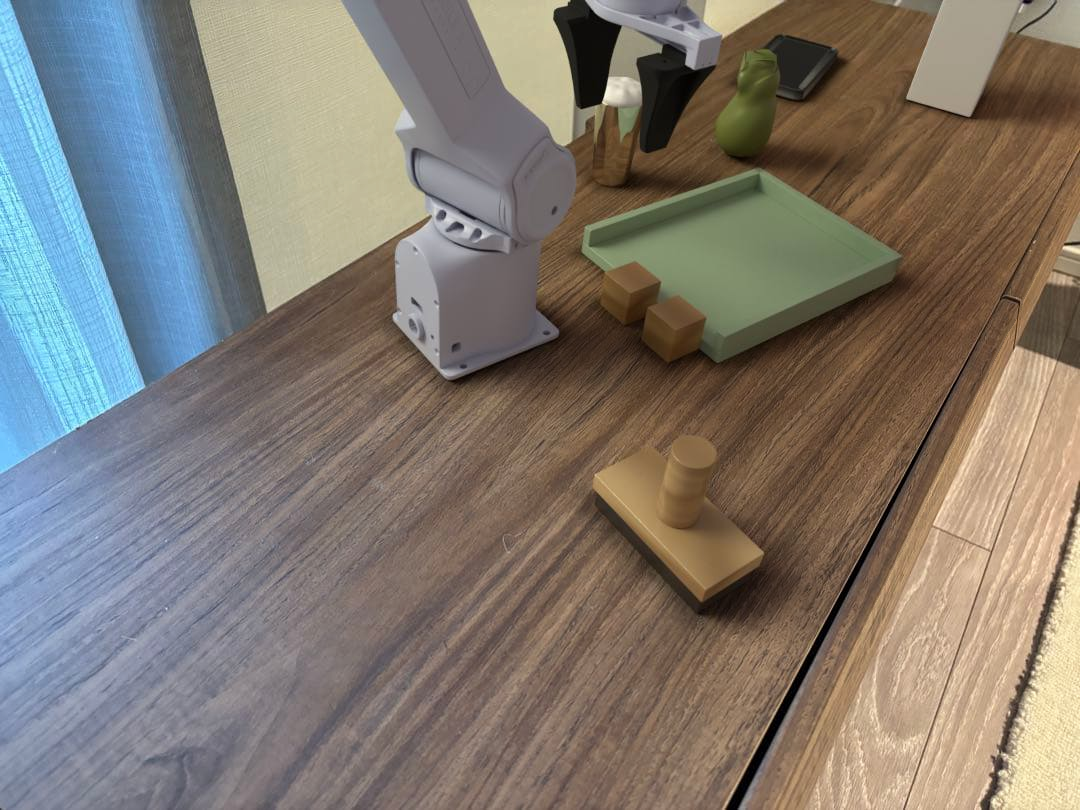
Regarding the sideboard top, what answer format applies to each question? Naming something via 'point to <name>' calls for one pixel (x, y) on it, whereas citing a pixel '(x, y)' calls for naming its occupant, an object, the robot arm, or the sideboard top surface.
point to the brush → (677, 520)
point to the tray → (745, 257)
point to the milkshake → (616, 131)
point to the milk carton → (962, 53)
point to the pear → (750, 106)
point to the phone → (799, 64)
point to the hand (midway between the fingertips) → (620, 126)
